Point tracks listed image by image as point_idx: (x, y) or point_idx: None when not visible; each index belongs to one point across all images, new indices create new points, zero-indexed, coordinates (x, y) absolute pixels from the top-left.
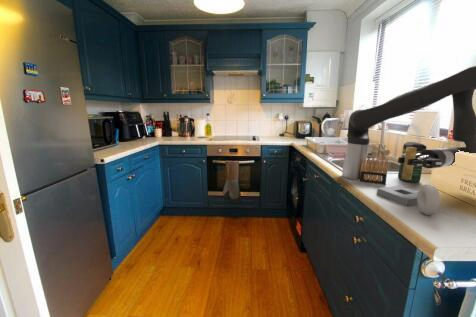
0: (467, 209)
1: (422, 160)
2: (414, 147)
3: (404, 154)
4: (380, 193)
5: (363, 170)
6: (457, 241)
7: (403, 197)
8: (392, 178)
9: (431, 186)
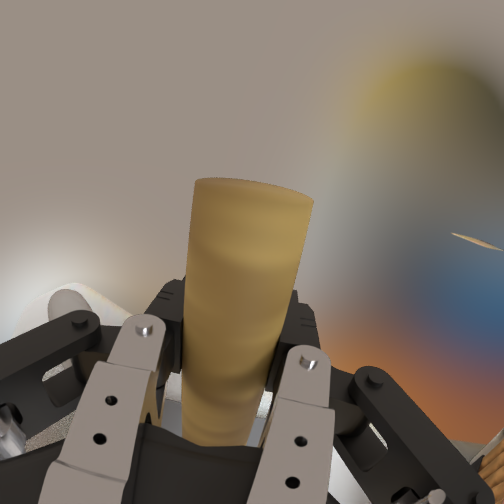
0: None
1: (108, 335)
2: (241, 195)
3: (417, 429)
4: None
5: (485, 459)
6: (42, 302)
7: (169, 403)
8: None
9: (67, 291)
